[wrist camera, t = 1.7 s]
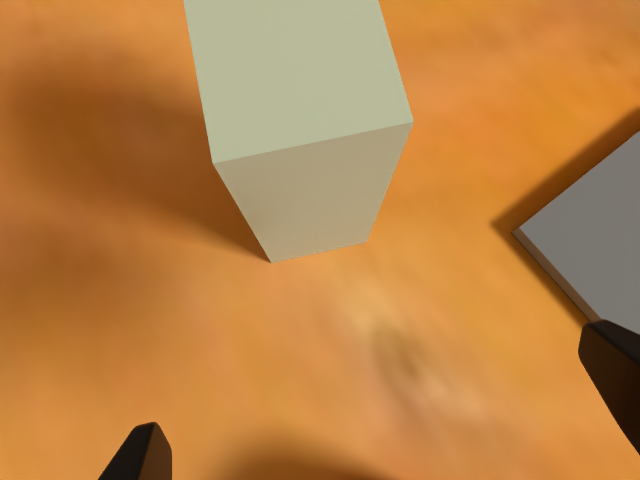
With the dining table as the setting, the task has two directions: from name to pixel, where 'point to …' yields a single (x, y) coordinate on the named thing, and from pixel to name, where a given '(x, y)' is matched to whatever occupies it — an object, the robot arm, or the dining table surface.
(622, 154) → the slate trivet
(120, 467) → the robot arm
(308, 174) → the sage block
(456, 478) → the dining table surface
